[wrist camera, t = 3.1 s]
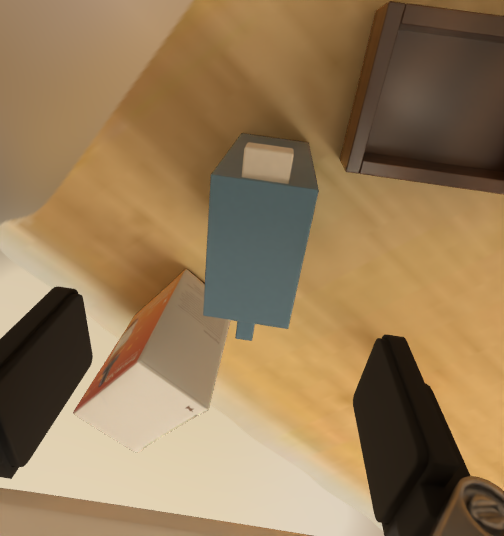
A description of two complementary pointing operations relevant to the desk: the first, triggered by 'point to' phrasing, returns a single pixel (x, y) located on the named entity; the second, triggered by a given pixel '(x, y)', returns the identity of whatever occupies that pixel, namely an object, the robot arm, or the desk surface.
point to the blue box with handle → (258, 231)
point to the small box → (158, 368)
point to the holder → (430, 99)
